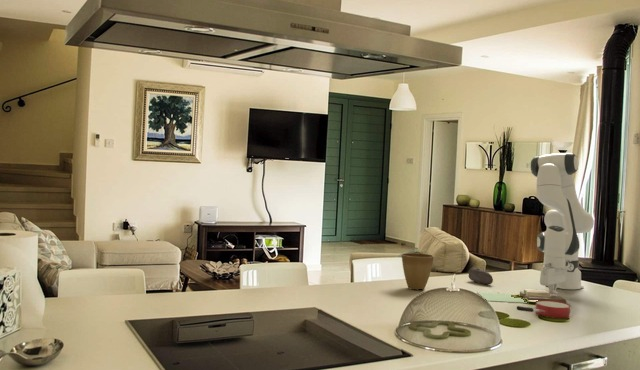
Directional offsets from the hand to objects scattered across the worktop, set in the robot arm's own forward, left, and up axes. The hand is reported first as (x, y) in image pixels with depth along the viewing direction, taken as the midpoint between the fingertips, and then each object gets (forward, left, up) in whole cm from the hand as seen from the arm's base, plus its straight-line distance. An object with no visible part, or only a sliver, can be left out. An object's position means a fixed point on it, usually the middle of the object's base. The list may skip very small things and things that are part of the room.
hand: (552, 293), depth 278 cm
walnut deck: (0, -4, -3) cm, 5 cm away
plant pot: (-11, -59, -3) cm, 60 cm away
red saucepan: (+36, -16, -4) cm, 39 cm away
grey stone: (-35, -23, -4) cm, 42 cm away
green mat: (0, -22, -3) cm, 22 cm away
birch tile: (-1, -7, -1) cm, 7 cm away
